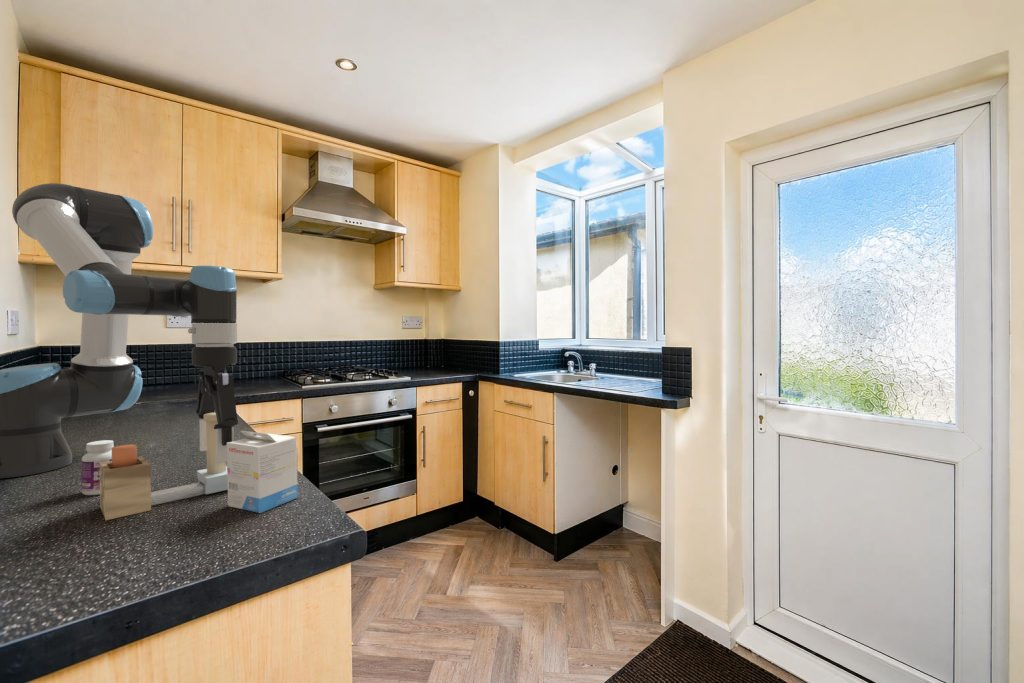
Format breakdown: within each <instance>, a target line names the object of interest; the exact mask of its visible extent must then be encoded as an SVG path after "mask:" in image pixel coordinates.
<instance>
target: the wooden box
mask: <svg viewBox="0 0 1024 683" xmlns="http://www.w3.org/2000/svg"><path fill="white" fill-rule="evenodd" d="M99 467H100V494H99V500H100V501H99V504H100V505H99V507H100V510H101V513H102V515H103V517H104V519H105V521H109V520H113V519H118V518H122V517H126V516H131V515H135V514H140V513H145V512H149V511H152V506H151V492H152V487H151V486H152V485H151V481H152V480H151V464H150V463H149V462H148V460H146V459H145V457H144V456H143V455H141V456H137V465H132V466H126V467H120V468H114V469H112V461H108V462H102V463H99Z"/></svg>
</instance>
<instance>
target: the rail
mask: <svg viewBox="0 0 1024 683" xmlns="http://www.w3.org/2000/svg"><path fill="white" fill-rule="evenodd" d="M201 495H206V494H205V486H204V484H203V483H202V482H199V483H198V482H193V483H191V484H185V485H180V486H175V487H169V488H165V489H160V490H155V491H151V507H152V506H157V505H161V504H165V503H171V502H174V501H175V502H176V501H180V500H184V499H189V498H194V497H198V496H201Z"/></svg>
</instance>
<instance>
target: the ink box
mask: <svg viewBox="0 0 1024 683" xmlns="http://www.w3.org/2000/svg"><path fill="white" fill-rule="evenodd" d="M240 433H241V434H243V435H244V436H245V437H246V438H241V439H238V440H234V441H233V442H227V462H226V466H227V479H228V490H227V506H228V507H231V508H233V509H234V508H235V509H240V510H244V511H247V512H253V513H257V514H261V513H264V512H266V511H270V510H271V509H275V508H277V507H279V506H281V505H284V504H286V503H289V502H290V501H294V500H295V499H298V498H299V490H298V488H299V486H298V464H297V463H298V459H297V458H298V457H297V456H298V455H297V454H298V453H297V437H296V436H289V435H282V434H276V433H268V432H267V433H264V432H254V431H249V430H240Z"/></svg>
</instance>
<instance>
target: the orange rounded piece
mask: <svg viewBox="0 0 1024 683" xmlns="http://www.w3.org/2000/svg"><path fill="white" fill-rule="evenodd" d="M137 457H138V445H137V444H123V445H122V444H121V445H117V446H114V447H113V448H112V469H114V468H120V467H126V466H132V465H137Z"/></svg>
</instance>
